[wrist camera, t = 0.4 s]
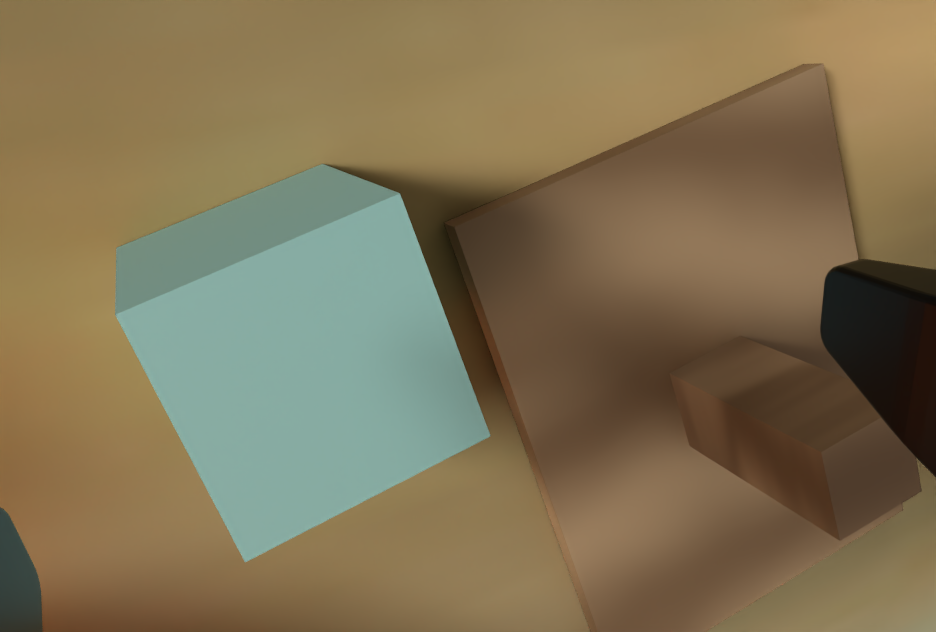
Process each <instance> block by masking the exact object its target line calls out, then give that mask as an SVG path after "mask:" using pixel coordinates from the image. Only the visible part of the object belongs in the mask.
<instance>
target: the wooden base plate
mask: <svg viewBox="0 0 936 632" xmlns="http://www.w3.org/2000/svg"><path fill="white" fill-rule="evenodd" d="M444 224H445V227H446V230H447V233H448V235H449V238H450V241H451V244H452V247H453V249H454V252H455V255H456V258H457V261H458V263H459V266H460V269H461V272H462V274H463V277H464V280H465V283H466V286H467V288H468V291H469V294H470V297H471V300H472V302H473V305H474V308H475V311H476V313H477V316H478V319H479V322H480V325H481V327H482V330H483V333H484V336H485V339H486V341H487V344H488V347H489V350H490V352H491V355H492V358H493V361H494V364H495V366H496V369H497V372H498V375H499V378H500V380H501V383H502V386H503V389H504V392H505V394H506V397H507V400H508V403H509V405H510V408H511V411H512V414H513V417H514V419H515V422H516V425H517V428H518V431H519V433H520V436H521V439H522V442H523V444H524V447H525V450H526V453H527V456H528V458H529V461H530V464H531V467H532V470H533V472H534V475H535V478H536V481H537V483H538V486H539V489H540V492H541V495H542V497H543V500H544V503H545V506H546V509H547V511H548V514H549V517H550V520H551V523H552V525H553V528H554V531H555V534H556V536H557V539H558V542H559V545H560V548H561V550H562V553H563V556H564V559H565V562H566V564H567V567H568V570H569V573H570V575H571V578H572V581H573V584H574V587H575V589H576V592H577V595H578V598H579V601H580V603H581V606H582V609H583V612H584V614H585V617H586V620H587V623H588V626H589V628H590V631H591V632H706V631H708V630H709V629H711V628H713V627H714V626H716V625H718V624H719V623H721V622H722V621H724V620H726V619H727V618H729V617H731V616H732V615H734V614H735V613H737V612H739V611H740V610H742V609H744V608H745V607H747V606H748V605H750V604H752V603H753V602H755V601H757V600H758V599H760V598H761V597H763V596H765V595H766V594H768V593H770V592H771V591H773V590H774V589H776V588H778V587H779V586H781V585H783V584H784V583H786V582H787V581H789V580H791V579H792V578H794V577H796V576H797V575H799V574H800V573H802V572H804V571H805V570H807V569H809V568H810V567H812V566H813V565H815V564H817V563H818V562H820V561H822V560H823V559H825V558H826V557H828V556H830V555H831V554H833V553H835V552H836V551H838V550H839V549H841V548H843V547H844V546H846V545H848V544H849V543H851V542H852V541H854V540H856V539H857V538H859V537H861V536H862V535H864V534H865V533H867V532H869V531H870V530H872V529H873V528H875V527H877V526H878V525H880V524H882V523H883V522H885V521H886V520H888V519H890V518H891V517H893V516H895V515H896V514H898V513H899V512H901V511H903V505H902V503H903V502H905V501H906V500H908V499H910V498H911V497H913V496H915V495H916V494H918V493H919V492H921V491H922V490H921V484H920V479H919V473H918V467H917V461H916V457H915V456H914V455H913V454H912V453H911V451H910V450H909V449H908V448H907V447H906V446H905V445H904V444H903V443H902V442H901V441H900V439H899V438H898V437H897V436H896V435H895V434H894V432H893V431H892V430H891V429H890V428H889V426H888V425H887V424H886V423H885V422H884V420H883V419H882V418H881V417H880V415H879V414H878V413H877V412H876V410H875V409H874V408H873V407H872V405H871V404H870V403H869V402H868V401H867V399H866V398H865V397H864V396H863V394H862V393H861V392H860V391H859V389H858V388H857V387H856V386H855V385H854V383H853V382H852V381H851V380H850V378H849V377H848V376H847V375H846V373H845V372H844V371H843V370H842V369H841V367H840V366H839V365H838V364H837V362H836V361H835V360H834V359H833V357H832V356H831V355H830V354H829V353H828V351H827V350H826V348H825V346H824V344H823V342H822V339H821V334H820V323H821V312H822V301H823V291H824V281H825V277H826V275H827V273H828V272H829V270H831V269H832V268H833V267H835V266H838V265H842V264H845V263H849V262H852V261H856V260H858V254H857V249H856V243H855V237H854V232H853V226H852V221H851V215H850V209H849V204H848V198H847V193H846V187H845V182H844V176H843V170H842V165H841V159H840V154H839V148H838V143H837V137H836V131H835V126H834V120H833V115H832V109H831V103H830V98H829V92H828V87H827V81H826V76H825V70H824V64H823V63H822V64H803V65H801V66H798V67H796V68H794V69H791V70H789V71H787V72H785V73H782V74H780V75H778V76H776V77H773V78H771V79H769V80H767V81H764V82H762V83H760V84H757V85H755V86H753V87H751V88H748V89H746V90H744V91H742V92H739V93H737V94H735V95H733V96H730V97H728V98H726V99H723V100H721V101H719V102H717V103H714V104H712V105H710V106H708V107H705V108H703V109H701V110H699V111H696V112H694V113H692V114H689V115H687V116H685V117H683V118H680V119H678V120H676V121H674V122H671V123H669V124H667V125H665V126H662V127H660V128H658V129H655V130H653V131H651V132H649V133H646V134H644V135H642V136H640V137H637V138H635V139H633V140H630V141H628V142H626V143H624V144H621V145H619V146H617V147H615V148H612V149H610V150H608V151H606V152H603V153H601V154H599V155H596V156H594V157H592V158H590V159H587V160H585V161H583V162H581V163H578V164H576V165H574V166H572V167H569V168H567V169H565V170H562V171H560V172H558V173H556V174H553V175H551V176H549V177H547V178H544V179H542V180H540V181H538V182H535V183H533V184H531V185H528V186H526V187H524V188H522V189H519V190H517V191H515V192H513V193H510V194H508V195H506V196H504V197H501V198H499V199H497V200H494V201H492V202H490V203H488V204H485V205H483V206H481V207H479V208H476V209H474V210H472V211H470V212H467V213H465V214H463V215H460V216H458V217H456V218H454V219H451V220H449V221H447V222H445V223H444Z"/></svg>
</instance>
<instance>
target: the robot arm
mask: <svg viewBox="0 0 936 632" xmlns="http://www.w3.org/2000/svg"><path fill="white" fill-rule="evenodd" d="M820 334H821V339H822V342H823V344H824V346H825V348H826V350H827V351H828V353H829V354H830V355H831V356H832V357H833V359H834V360H835V361H836V362H837V364H838V365H839V366H840V367H841V369H842V370H843V371H844V372H845V373H846V375H847V376H848V377H849V378H850V380H851V381H852V382H853V383H854V385H855V386H856V387H857V388H858V389H859V391H860V392H861V393H862V394H863V396H864V397H865V398H866V399H867V401H868V402H869V403H870V404H871V405H872V407H873V408H874V409H875V410H876V412H877V413H878V414H879V415H880V417H881V418H882V419H883V420H884V422H885V423H886V424H887V425H888V426H889V428H890V429H891V430H892V431H893V432H894V434H895V435H896V436H897V437H898V438H899V439H900V441H901V442H902V443H903V444H904V445H905V446H906V447H907V448H908V449H909V450H910V451H911V453H912V454H913V455H914V456H915V457H916V458H917V459H918V460H919V461H920V462H921V463H922V464H923V465H924V466H925V467H926V468H927V469H928V470H929V471H930V472H931V473H932V474H933V475H934V476H935V477H936V270H935V269H928V268H921V267H915V266H908V265H901V264H895V263H888V262H882V261H875V260H868V259H861V260H856V261H852V262H849V263H845V264H842V265H838V266H835V267H833V268H832V269H831V270H829V272H828V273H827V275H826V277H825V281H824V291H823V301H822V312H821V323H820ZM0 632H43V630H42V604H41V588H40V582H39V578H38V575H37V572H36V569H35V567H34V564H33V562H32V560H31V558H30V556H29V554H28V552H27V550H26V548H25V546H24V544H23V542H22V540H21V538H20V536H19V534H18V532H17V530H16V528H15V526H14V524H13V522H12V520H11V518H10V516H9V515H8V514H7V512H6V511H5V510H4V509H2V508H0Z"/></svg>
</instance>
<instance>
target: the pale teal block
mask: <svg viewBox="0 0 936 632" xmlns="http://www.w3.org/2000/svg"><path fill="white" fill-rule="evenodd" d="M115 315H116V317H117V319H118V321H119V323H120V325H121V327H122V328H123V330H124V332H125V334H126V336H127V338H128V340H129V342H130V344H131V346H132V348H133V349H134V351H135V353H136V355H137V357H138V359H139V361H140V363H141V365H142V367H143V368H144V370H145V372H146V374H147V376H148V378H149V380H150V382H151V384H152V386H153V388H154V389H155V391H156V393H157V395H158V397H159V399H160V401H161V403H162V405H163V407H164V409H165V410H166V412H167V414H168V416H169V418H170V420H171V422H172V424H173V426H174V428H175V429H176V431H177V433H178V435H179V437H180V439H181V441H182V443H183V445H184V447H185V449H186V450H187V452H188V454H189V456H190V458H191V460H192V462H193V464H194V466H195V468H196V470H197V471H198V473H199V475H200V477H201V479H202V481H203V483H204V485H205V487H206V489H207V490H208V492H209V494H210V496H211V498H212V500H213V502H214V504H215V506H216V508H217V510H218V511H219V513H220V515H221V517H222V519H223V521H224V523H225V525H226V527H227V529H228V531H229V532H230V534H231V536H232V538H233V540H234V542H235V544H236V546H237V548H238V550H239V551H240V553H241V555H242V557H243V559H244V561H245V562H247V561H249V560H251V559H253V558H254V557H256V556H258V555H260V554H262V553H264V552H266V551H268V550H270V549H272V548H274V547H276V546H278V545H280V544H282V543H284V542H286V541H288V540H289V539H291V538H293V537H295V536H297V535H299V534H301V533H303V532H305V531H307V530H309V529H311V528H313V527H315V526H317V525H319V524H321V523H323V522H325V521H326V520H328V519H330V518H332V517H334V516H336V515H338V514H340V513H342V512H344V511H346V510H348V509H350V508H352V507H354V506H356V505H358V504H360V503H361V502H363V501H365V500H367V499H369V498H371V497H373V496H375V495H377V494H379V493H381V492H383V491H385V490H387V489H389V488H391V487H393V486H395V485H397V484H398V483H400V482H402V481H404V480H406V479H408V478H410V477H412V476H414V475H416V474H418V473H420V472H422V471H424V470H426V469H428V468H430V467H432V466H433V465H435V464H437V463H439V462H441V461H443V460H445V459H447V458H449V457H451V456H453V455H455V454H457V453H459V452H461V451H463V450H465V449H467V448H469V447H470V446H472V445H474V444H476V443H478V442H480V441H482V440H484V439H486V438H488V437H490V433H489V431H488V428H487V425H486V423H485V420H484V417H483V414H482V412H481V409H480V406H479V404H478V401H477V398H476V396H475V393H474V390H473V388H472V385H471V382H470V380H469V377H468V374H467V372H466V369H465V366H464V364H463V361H462V358H461V356H460V353H459V350H458V348H457V345H456V342H455V339H454V337H453V334H452V331H451V329H450V326H449V323H448V321H447V318H446V315H445V313H444V310H443V307H442V305H441V302H440V299H439V297H438V294H437V291H436V289H435V286H434V283H433V281H432V278H431V275H430V273H429V270H428V267H427V264H426V262H425V259H424V256H423V254H422V251H421V248H420V246H419V243H418V240H417V238H416V235H415V232H414V230H413V227H412V224H411V222H410V219H409V216H408V214H407V211H406V208H405V206H404V203H403V200H402V198H401V195H400V193H398V192H395V191H392V190H390V189H387V188H385V187H382V186H379V185H377V184H374V183H372V182H369V181H366V180H364V179H361V178H358V177H356V176H353V175H351V174H348V173H345V172H343V171H340V170H337V169H335V168H332V167H330V166H327V165H324V164H321V165H319V166H316V167H314V168H311V169H309V170H306V171H304V172H301V173H299V174H296V175H294V176H292V177H289V178H287V179H284V180H282V181H279V182H277V183H274V184H272V185H269V186H267V187H265V188H262V189H260V190H257V191H255V192H252V193H250V194H247V195H245V196H243V197H240V198H238V199H235V200H233V201H230V202H228V203H225V204H223V205H220V206H218V207H216V208H213V209H211V210H208V211H206V212H203V213H201V214H198V215H196V216H193V217H191V218H189V219H186V220H184V221H181V222H179V223H176V224H174V225H171V226H169V227H167V228H164V229H162V230H159V231H157V232H154V233H152V234H149V235H147V236H144V237H142V238H140V239H137V240H135V241H132V242H130V243H127V244H125V245H122V246H120V247H117V248H116V303H115Z"/></svg>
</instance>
